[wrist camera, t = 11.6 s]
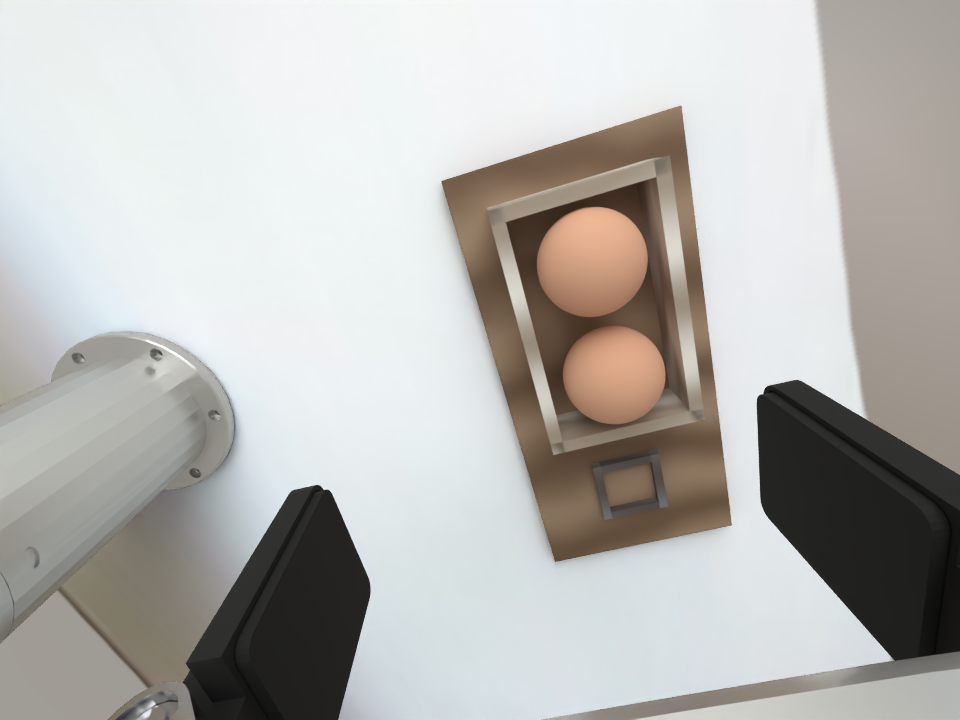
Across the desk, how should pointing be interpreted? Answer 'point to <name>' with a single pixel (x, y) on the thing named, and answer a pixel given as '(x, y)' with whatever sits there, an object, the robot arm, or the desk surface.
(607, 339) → the terracotta ball
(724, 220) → the desk surface
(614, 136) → the sorting board
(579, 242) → the ball
